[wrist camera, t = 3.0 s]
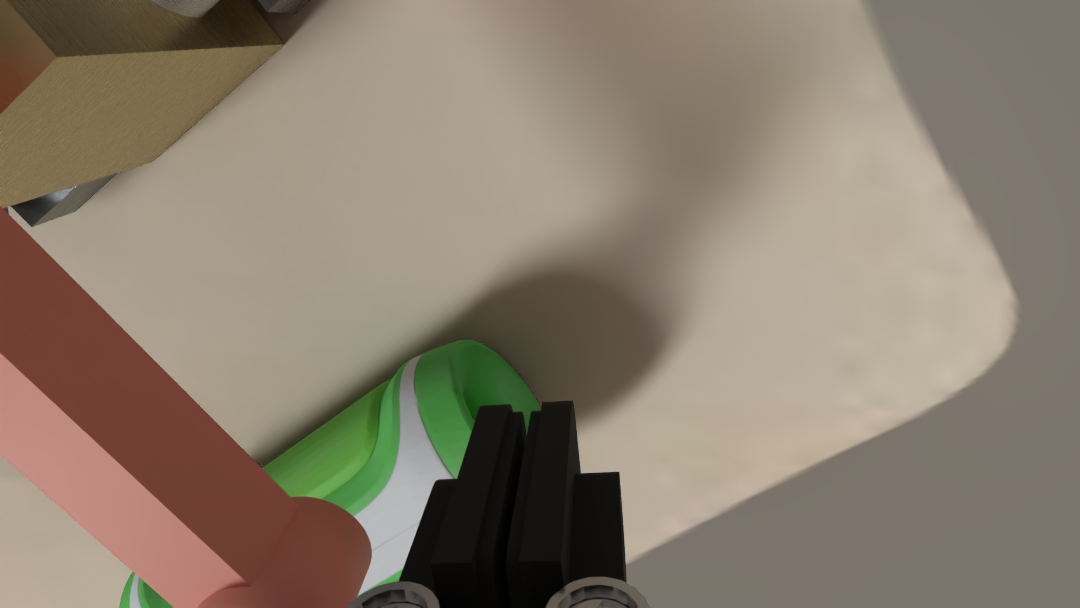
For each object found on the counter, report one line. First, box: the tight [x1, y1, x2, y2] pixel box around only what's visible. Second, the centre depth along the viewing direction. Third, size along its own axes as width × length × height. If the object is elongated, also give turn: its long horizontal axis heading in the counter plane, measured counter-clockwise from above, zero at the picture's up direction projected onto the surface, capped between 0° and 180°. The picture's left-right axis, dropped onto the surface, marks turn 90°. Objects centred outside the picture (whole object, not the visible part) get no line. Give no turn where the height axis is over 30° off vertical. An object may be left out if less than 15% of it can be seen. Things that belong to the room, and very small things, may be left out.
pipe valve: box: [0, 0, 309, 227], centre depth 19 cm, size 18×7×11 cm, turn 126°
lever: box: [0, 206, 372, 608], centre depth 14 cm, size 4×18×4 cm, turn 36°
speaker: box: [119, 339, 541, 608], centre depth 27 cm, size 18×7×8 cm, turn 127°
